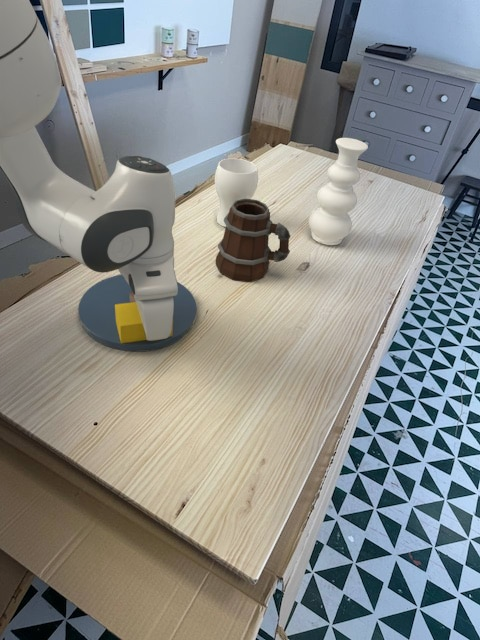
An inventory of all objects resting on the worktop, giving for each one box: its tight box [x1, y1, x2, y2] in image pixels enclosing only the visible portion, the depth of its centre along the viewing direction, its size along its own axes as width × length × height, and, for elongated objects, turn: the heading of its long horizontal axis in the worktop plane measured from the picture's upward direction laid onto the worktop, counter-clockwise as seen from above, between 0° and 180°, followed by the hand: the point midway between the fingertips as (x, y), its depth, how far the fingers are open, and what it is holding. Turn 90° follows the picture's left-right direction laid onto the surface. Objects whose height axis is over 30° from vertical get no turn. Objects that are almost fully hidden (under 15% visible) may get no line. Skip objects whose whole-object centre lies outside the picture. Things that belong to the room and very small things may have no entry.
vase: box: [308, 137, 369, 246], centre depth 113 cm, size 11×11×25 cm
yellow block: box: [115, 302, 173, 343], centre depth 83 cm, size 9×6×4 cm, turn 110°
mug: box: [215, 198, 291, 283], centre depth 101 cm, size 16×12×15 cm
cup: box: [214, 157, 259, 228], centre depth 117 cm, size 11×11×15 cm
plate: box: [77, 274, 198, 352], centre depth 89 cm, size 22×22×2 cm
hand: (146, 324), depth 83 cm, fingers closed on yellow block, 6 cm apart
